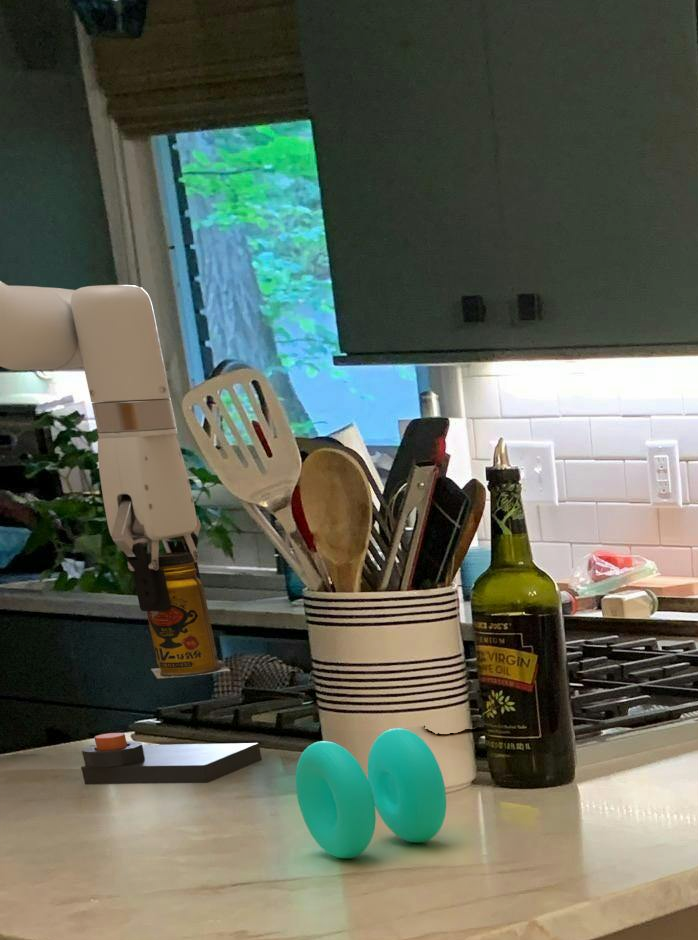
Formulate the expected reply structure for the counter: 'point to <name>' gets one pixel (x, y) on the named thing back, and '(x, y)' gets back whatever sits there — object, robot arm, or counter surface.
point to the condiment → (183, 623)
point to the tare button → (110, 741)
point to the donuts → (370, 792)
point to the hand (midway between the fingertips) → (172, 604)
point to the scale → (166, 762)
